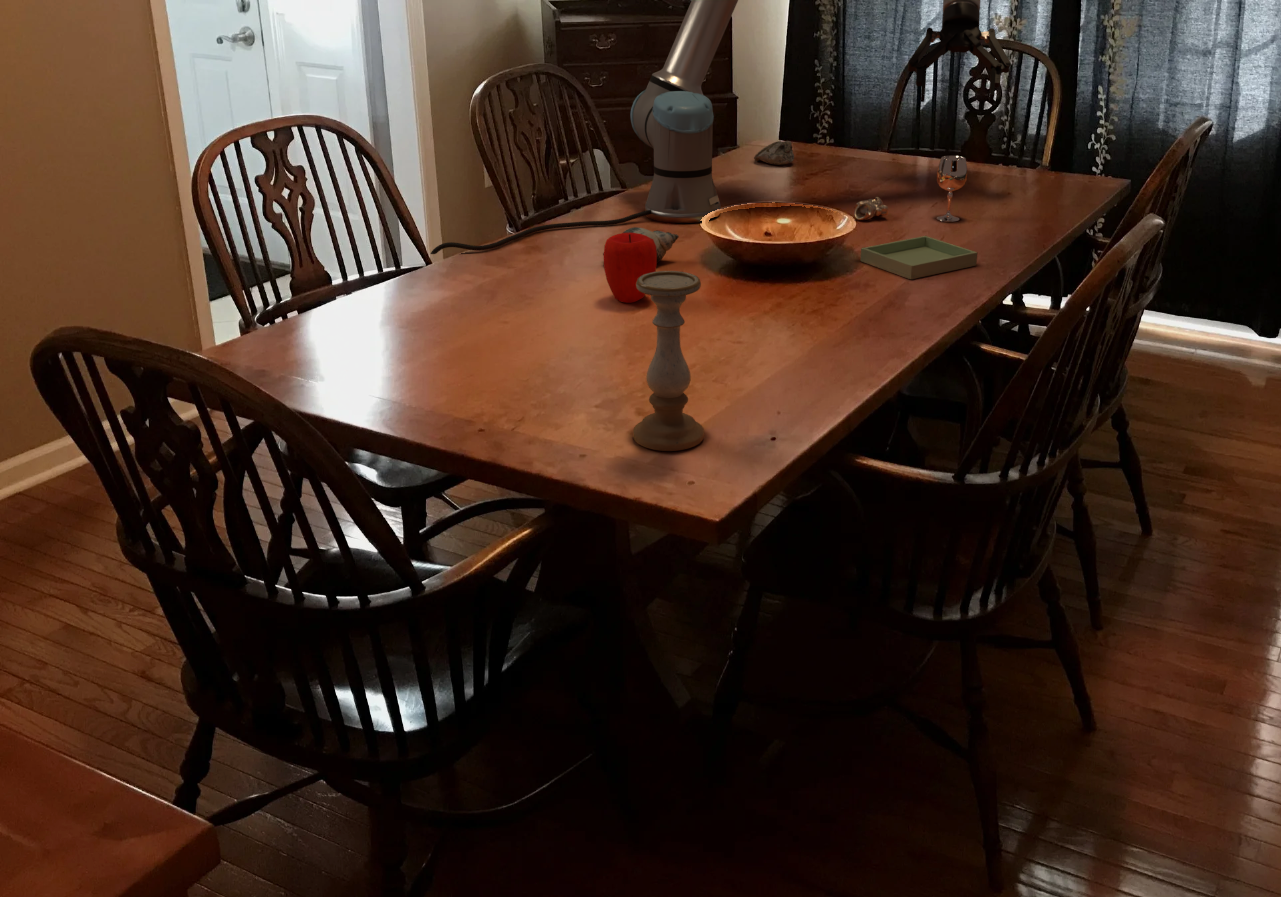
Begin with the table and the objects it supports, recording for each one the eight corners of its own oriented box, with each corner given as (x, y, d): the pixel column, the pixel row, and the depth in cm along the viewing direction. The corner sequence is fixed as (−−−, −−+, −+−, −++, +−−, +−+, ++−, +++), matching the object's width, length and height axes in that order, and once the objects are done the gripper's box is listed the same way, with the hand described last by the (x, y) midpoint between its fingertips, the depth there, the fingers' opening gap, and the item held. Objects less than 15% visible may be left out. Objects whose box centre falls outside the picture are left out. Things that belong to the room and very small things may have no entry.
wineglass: (960, 215, 254) (966, 155, 249) (964, 222, 248) (970, 161, 243) (931, 214, 254) (936, 154, 249) (934, 222, 249) (940, 161, 244)
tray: (910, 279, 215) (911, 265, 214) (860, 261, 225) (860, 248, 224) (976, 265, 222) (977, 252, 221) (924, 248, 232) (925, 235, 231)
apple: (667, 302, 205) (667, 236, 201) (620, 311, 202) (619, 244, 197) (640, 288, 212) (639, 224, 208) (594, 296, 209) (592, 232, 204)
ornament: (879, 224, 248) (880, 205, 247) (847, 219, 251) (848, 201, 250) (895, 215, 254) (896, 197, 253) (863, 211, 258) (864, 193, 256)
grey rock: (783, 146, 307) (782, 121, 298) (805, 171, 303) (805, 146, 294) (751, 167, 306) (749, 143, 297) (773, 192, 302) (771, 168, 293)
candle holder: (690, 456, 152) (691, 293, 143) (622, 446, 155) (619, 286, 146) (713, 428, 159) (715, 272, 151) (648, 419, 162) (647, 265, 154)
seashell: (614, 264, 230) (676, 269, 226) (599, 257, 223) (663, 263, 219) (619, 229, 230) (681, 234, 226) (604, 222, 223) (668, 226, 219)
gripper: (1020, 24, 264) (1018, 110, 257) (899, 23, 269) (893, 108, 262) (1025, 0, 257) (1023, 88, 250) (900, -1, 262) (895, 86, 255)
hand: (957, 98), depth 256 cm, fingers open, 13 cm apart
